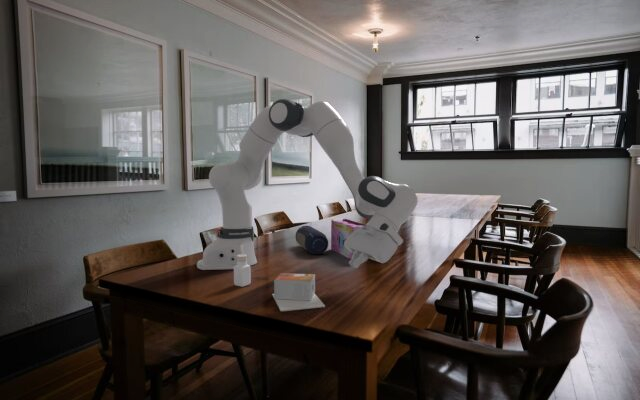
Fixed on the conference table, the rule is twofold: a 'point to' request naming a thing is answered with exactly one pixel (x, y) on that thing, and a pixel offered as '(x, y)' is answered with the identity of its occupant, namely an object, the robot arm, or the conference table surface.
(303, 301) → the mat
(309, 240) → the portable speaker
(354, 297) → the conference table surface
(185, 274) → the conference table surface
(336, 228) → the gum box
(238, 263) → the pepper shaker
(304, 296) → the small box
